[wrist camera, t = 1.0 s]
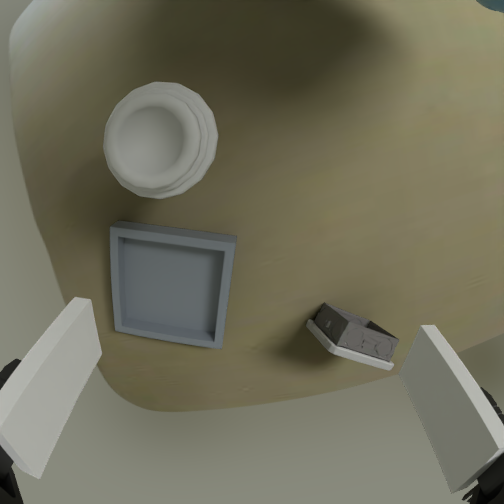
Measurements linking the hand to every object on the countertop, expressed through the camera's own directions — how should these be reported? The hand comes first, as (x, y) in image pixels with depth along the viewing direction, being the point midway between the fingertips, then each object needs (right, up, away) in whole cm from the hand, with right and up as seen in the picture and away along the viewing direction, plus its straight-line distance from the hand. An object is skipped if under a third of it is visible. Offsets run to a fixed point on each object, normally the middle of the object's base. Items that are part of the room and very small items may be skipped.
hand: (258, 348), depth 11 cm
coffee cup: (-7, +16, +20) cm, 26 cm away
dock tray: (-10, 0, +25) cm, 27 cm away
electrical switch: (+12, -5, +28) cm, 31 cm away
